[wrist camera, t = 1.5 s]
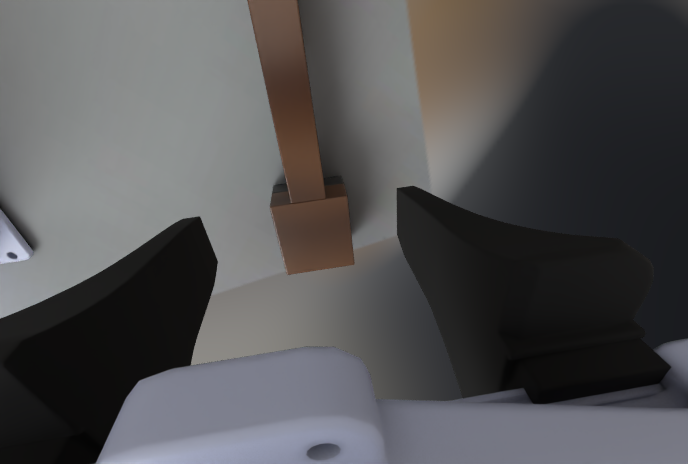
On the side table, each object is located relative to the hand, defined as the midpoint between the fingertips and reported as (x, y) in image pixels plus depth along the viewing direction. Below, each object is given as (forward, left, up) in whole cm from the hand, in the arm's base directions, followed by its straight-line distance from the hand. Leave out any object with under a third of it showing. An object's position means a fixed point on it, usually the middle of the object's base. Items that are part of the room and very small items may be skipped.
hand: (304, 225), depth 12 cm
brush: (0, +2, -9) cm, 9 cm away
